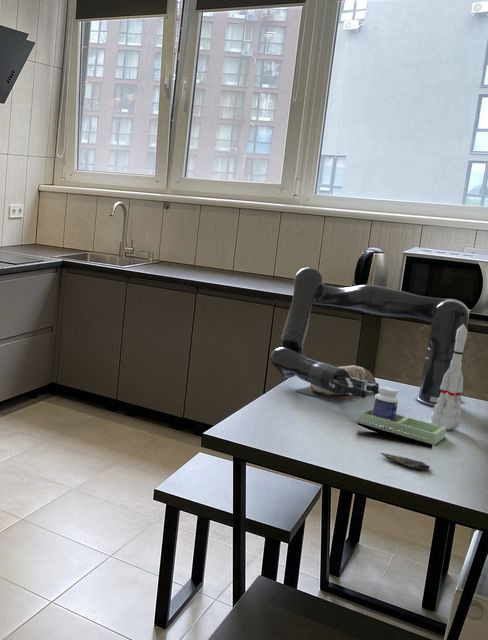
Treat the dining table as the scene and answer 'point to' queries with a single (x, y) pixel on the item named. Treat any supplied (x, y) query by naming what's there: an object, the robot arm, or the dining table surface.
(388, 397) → the pill bottle
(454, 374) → the rocket model
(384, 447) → the dining table surface
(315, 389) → the bread loaf
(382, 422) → the holder
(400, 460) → the arrowhead
